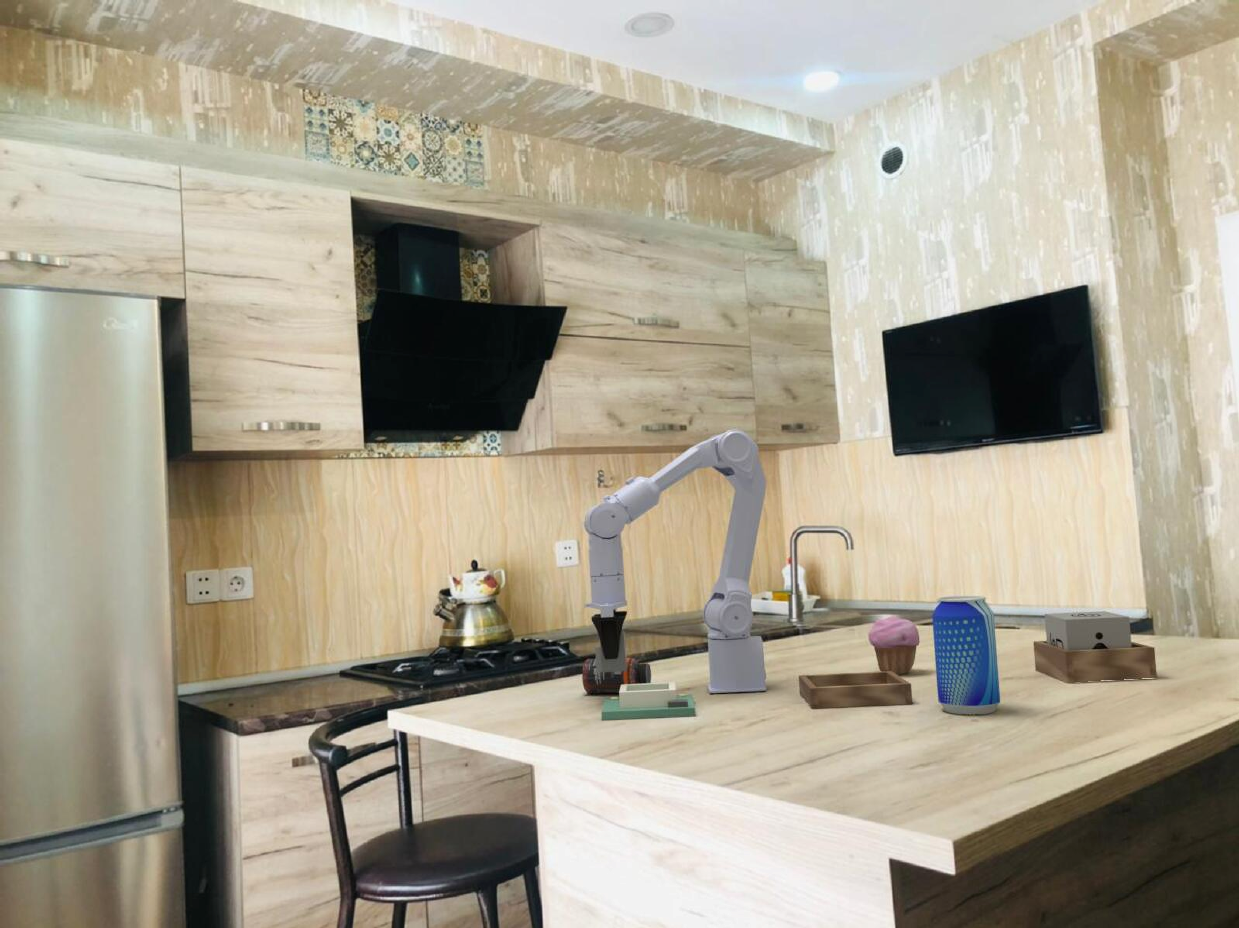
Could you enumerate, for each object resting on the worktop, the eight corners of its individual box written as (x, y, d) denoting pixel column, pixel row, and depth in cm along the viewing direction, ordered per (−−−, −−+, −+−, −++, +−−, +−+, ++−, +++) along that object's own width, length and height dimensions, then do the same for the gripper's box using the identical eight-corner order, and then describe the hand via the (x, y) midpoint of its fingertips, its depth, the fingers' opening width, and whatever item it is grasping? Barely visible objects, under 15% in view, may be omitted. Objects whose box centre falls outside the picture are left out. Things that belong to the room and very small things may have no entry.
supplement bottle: (591, 688, 181) (653, 688, 178) (582, 697, 175) (646, 697, 172) (589, 654, 180) (651, 654, 178) (580, 663, 175) (644, 662, 172)
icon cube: (1049, 672, 174) (1044, 613, 175) (1109, 670, 173) (1104, 611, 174) (1070, 682, 164) (1065, 619, 165) (1134, 679, 163) (1129, 616, 164)
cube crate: (1117, 666, 176) (1115, 637, 176) (1157, 679, 162) (1154, 647, 162) (1035, 670, 176) (1033, 641, 177) (1067, 683, 162) (1065, 651, 163)
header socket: (675, 697, 162) (674, 682, 162) (676, 706, 154) (675, 690, 154) (621, 699, 162) (621, 684, 162) (620, 708, 154) (619, 692, 154)
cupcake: (862, 672, 185) (859, 617, 185) (905, 668, 187) (902, 613, 187) (887, 679, 176) (883, 620, 176) (931, 674, 178) (927, 617, 179)
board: (692, 701, 164) (692, 689, 164) (695, 716, 152) (694, 702, 152) (606, 705, 164) (605, 693, 164) (601, 720, 152) (601, 706, 152)
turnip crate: (892, 689, 165) (891, 671, 165) (912, 704, 152) (911, 683, 152) (799, 694, 165) (798, 675, 166) (811, 708, 153) (810, 688, 153)
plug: (627, 667, 171) (624, 631, 172) (626, 670, 167) (623, 634, 168) (597, 669, 171) (595, 633, 172) (596, 672, 167) (593, 636, 168)
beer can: (1010, 707, 145) (1002, 595, 146) (986, 718, 139) (977, 600, 140) (954, 703, 151) (946, 595, 152) (928, 712, 145) (920, 600, 146)
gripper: (586, 574, 178) (590, 652, 177) (580, 579, 163) (584, 664, 162) (626, 572, 177) (631, 650, 177) (623, 576, 163) (628, 662, 162)
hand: (611, 657), depth 170 cm, fingers closed on plug, 4 cm apart
